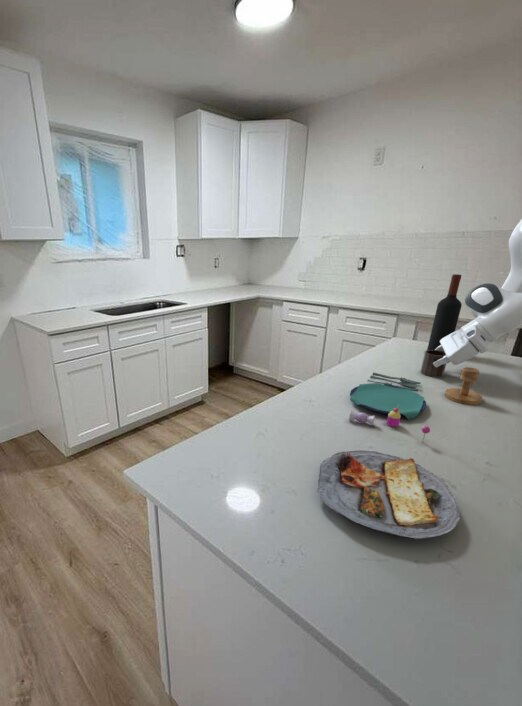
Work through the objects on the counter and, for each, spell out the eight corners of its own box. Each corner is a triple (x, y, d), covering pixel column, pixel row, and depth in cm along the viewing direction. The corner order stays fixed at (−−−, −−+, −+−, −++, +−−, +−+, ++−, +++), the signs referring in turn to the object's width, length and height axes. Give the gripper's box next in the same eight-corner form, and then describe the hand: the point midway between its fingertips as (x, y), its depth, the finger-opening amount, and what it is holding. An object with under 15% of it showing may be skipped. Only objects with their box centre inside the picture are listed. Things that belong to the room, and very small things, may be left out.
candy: (346, 426, 94) (349, 405, 92) (353, 413, 100) (356, 393, 98) (426, 445, 85) (432, 422, 83) (428, 430, 91) (434, 408, 89)
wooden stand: (476, 393, 109) (485, 366, 106) (485, 406, 102) (495, 377, 98) (441, 390, 112) (449, 362, 109) (448, 402, 105) (456, 373, 101)
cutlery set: (340, 408, 104) (341, 400, 103) (366, 374, 125) (367, 368, 125) (419, 427, 93) (421, 419, 92) (433, 387, 114) (435, 380, 113)
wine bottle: (423, 353, 144) (441, 275, 132) (430, 348, 149) (448, 273, 137) (445, 357, 139) (466, 276, 127) (451, 352, 144) (472, 274, 132)
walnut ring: (440, 371, 127) (446, 350, 124) (444, 378, 121) (450, 356, 118) (419, 369, 129) (423, 349, 126) (422, 375, 123) (427, 354, 120)
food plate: (322, 449, 85) (323, 437, 83) (437, 469, 77) (441, 455, 75) (312, 525, 64) (314, 510, 62) (469, 564, 55) (476, 547, 54)
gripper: (462, 320, 124) (423, 344, 132) (475, 336, 107) (429, 363, 115) (474, 334, 124) (434, 357, 132) (489, 352, 107) (442, 378, 115)
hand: (432, 360), depth 124 cm, fingers open, 8 cm apart
